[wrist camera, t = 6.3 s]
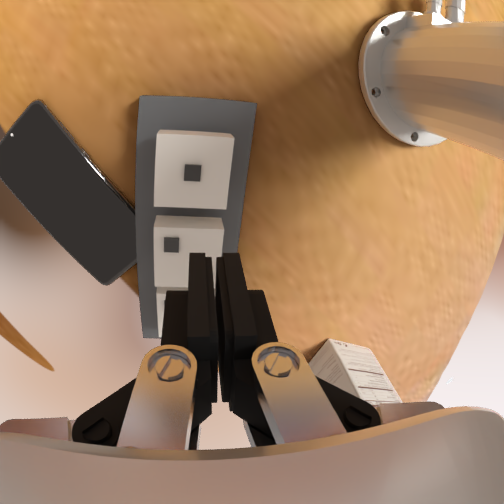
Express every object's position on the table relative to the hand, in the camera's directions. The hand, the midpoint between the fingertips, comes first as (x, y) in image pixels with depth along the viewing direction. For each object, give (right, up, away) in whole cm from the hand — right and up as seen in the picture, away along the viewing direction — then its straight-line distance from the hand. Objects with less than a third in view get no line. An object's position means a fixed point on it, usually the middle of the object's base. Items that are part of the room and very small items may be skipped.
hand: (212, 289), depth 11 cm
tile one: (-3, +7, +9) cm, 12 cm away
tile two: (-3, +2, +12) cm, 13 cm away
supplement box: (+11, -12, +26) cm, 31 cm away
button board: (-4, +3, +14) cm, 15 cm away
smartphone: (-13, +6, +12) cm, 19 cm away
